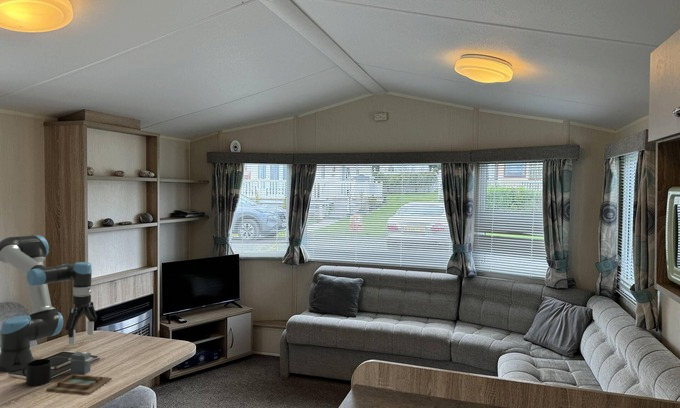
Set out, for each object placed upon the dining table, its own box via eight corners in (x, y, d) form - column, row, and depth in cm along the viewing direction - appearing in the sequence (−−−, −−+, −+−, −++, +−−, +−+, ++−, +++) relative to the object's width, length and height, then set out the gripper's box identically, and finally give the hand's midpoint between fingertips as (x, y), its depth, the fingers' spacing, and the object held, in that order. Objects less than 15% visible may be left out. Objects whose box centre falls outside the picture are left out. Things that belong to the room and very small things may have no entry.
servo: (67, 373, 226) (68, 353, 225) (74, 369, 230) (74, 349, 230) (87, 375, 224) (87, 354, 224) (93, 371, 229) (93, 351, 229)
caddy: (46, 390, 207) (46, 385, 206) (71, 376, 222) (71, 371, 222) (89, 394, 204) (89, 389, 204) (111, 379, 220) (111, 374, 220)
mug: (28, 377, 219) (29, 358, 219) (55, 378, 220) (55, 359, 219) (15, 386, 210) (15, 366, 210) (42, 386, 210) (43, 366, 210)
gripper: (71, 301, 213) (71, 348, 214) (105, 289, 238) (104, 331, 239) (56, 300, 214) (55, 347, 215) (91, 289, 239) (90, 330, 239)
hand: (81, 339), depth 227 cm, fingers open, 13 cm apart
